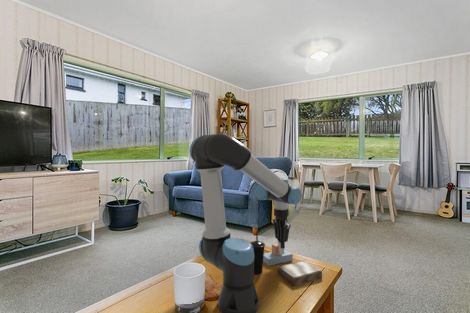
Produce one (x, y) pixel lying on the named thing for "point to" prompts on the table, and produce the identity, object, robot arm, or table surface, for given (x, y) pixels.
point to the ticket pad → (299, 273)
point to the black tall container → (258, 255)
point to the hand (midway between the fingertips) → (281, 253)
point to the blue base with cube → (277, 256)
